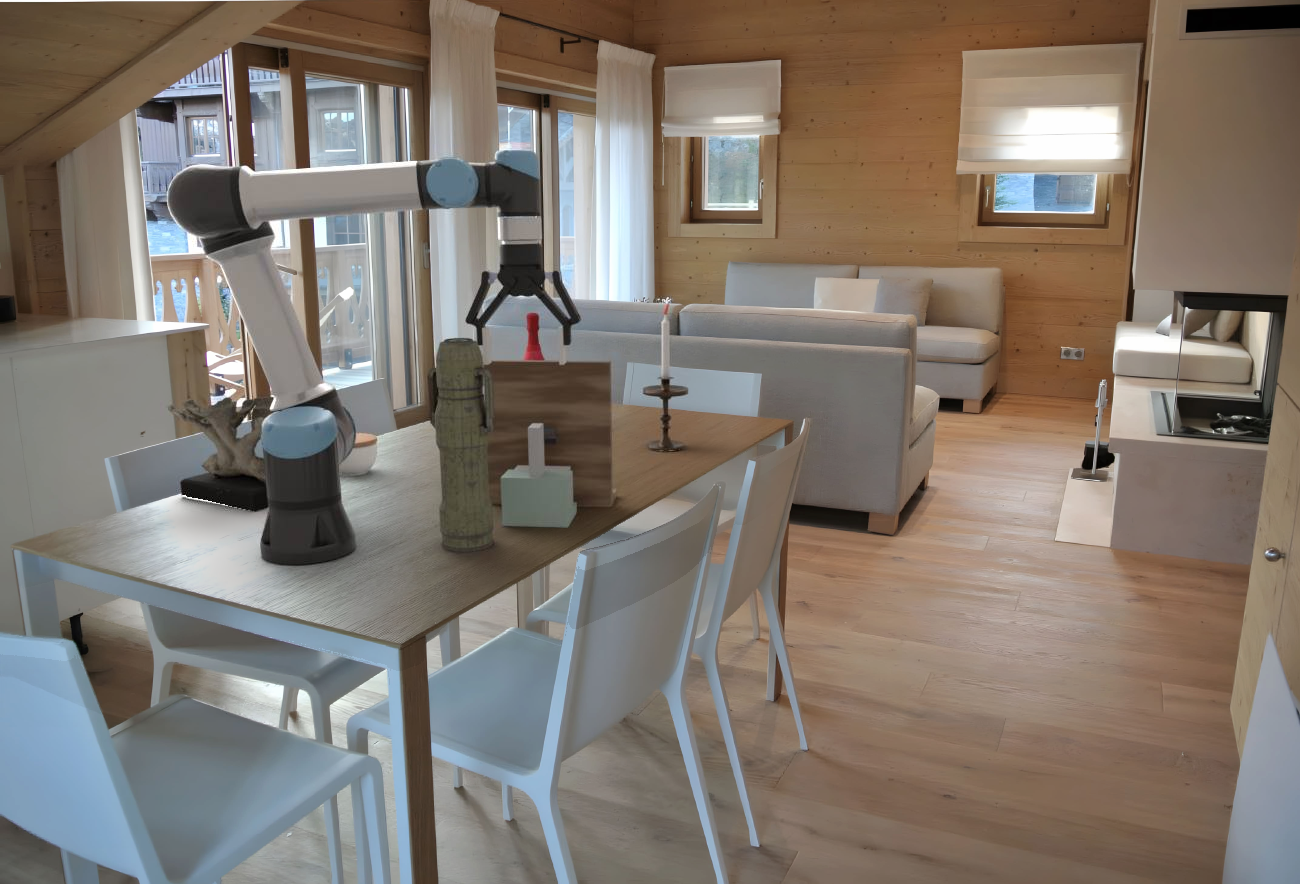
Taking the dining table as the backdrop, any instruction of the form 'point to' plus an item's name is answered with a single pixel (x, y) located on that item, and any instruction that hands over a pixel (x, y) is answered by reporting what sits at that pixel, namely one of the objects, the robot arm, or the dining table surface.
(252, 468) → the coral
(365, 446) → the lidded jar
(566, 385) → the wall board
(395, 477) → the dining table surface
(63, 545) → the dining table surface
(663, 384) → the candlestick
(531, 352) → the red flared column
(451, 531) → the thermos
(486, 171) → the robot arm
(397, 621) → the dining table surface
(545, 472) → the pale green block
